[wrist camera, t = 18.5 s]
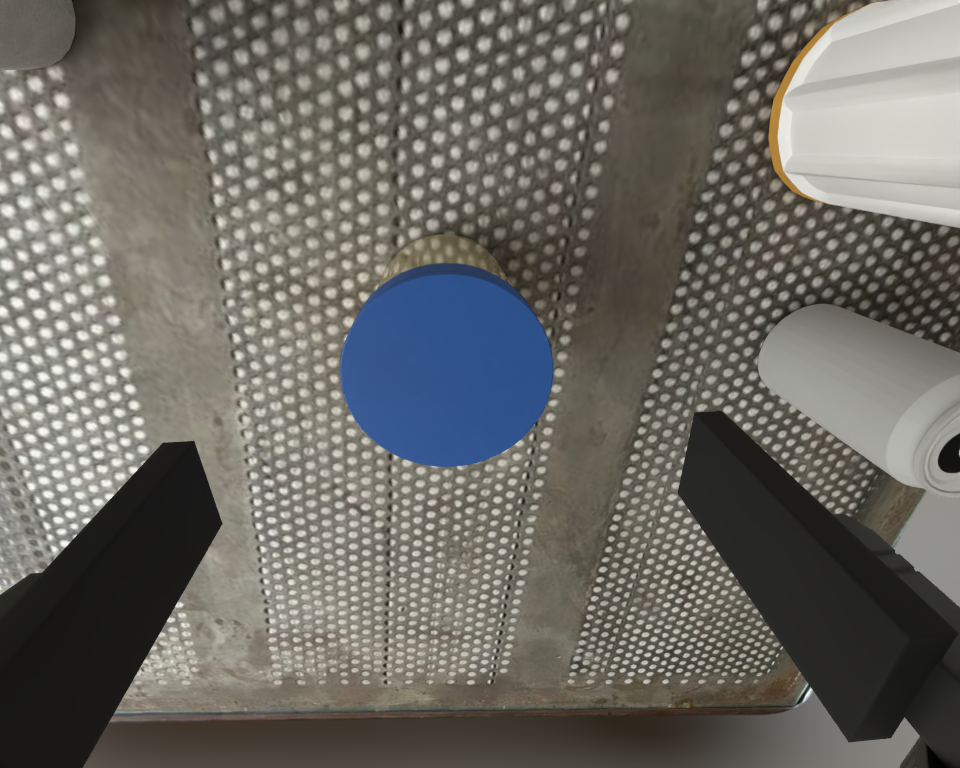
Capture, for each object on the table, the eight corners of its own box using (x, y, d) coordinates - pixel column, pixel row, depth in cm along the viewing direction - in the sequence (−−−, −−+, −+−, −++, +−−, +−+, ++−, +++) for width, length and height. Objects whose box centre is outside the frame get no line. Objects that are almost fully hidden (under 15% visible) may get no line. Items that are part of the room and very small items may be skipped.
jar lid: (583, 324, 20) (596, 340, 18) (484, 468, 23) (488, 494, 21) (402, 221, 18) (398, 229, 16) (317, 396, 20) (306, 419, 19)
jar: (352, 296, 28) (307, 371, 18) (448, 203, 26) (454, 234, 16) (442, 382, 31) (443, 485, 21) (534, 304, 29) (581, 379, 19)
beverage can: (743, 324, 30) (910, 418, 20) (844, 283, 30) (1073, 357, 19) (758, 404, 33) (911, 525, 22) (850, 368, 33) (1054, 475, 22)
